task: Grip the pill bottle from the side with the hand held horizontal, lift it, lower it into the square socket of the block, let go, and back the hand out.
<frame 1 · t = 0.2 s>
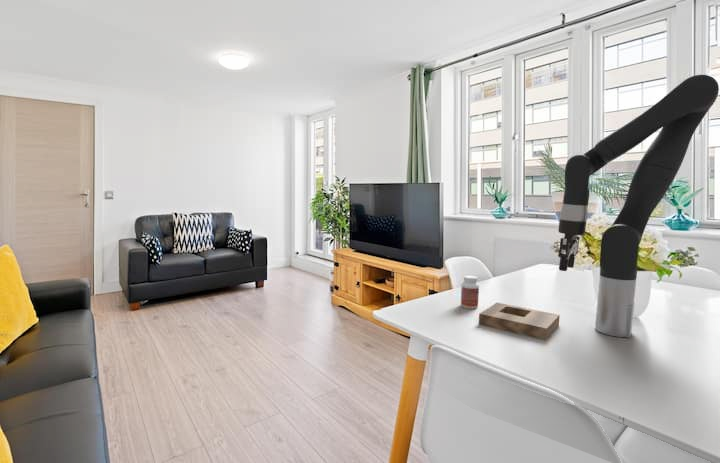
hand: (566, 268, 126), 18 cm above the table, tool pointing down, fingers open, 8 cm apart
socket block: (518, 324, 124), on the table
pill bottle: (469, 306, 143), on the table
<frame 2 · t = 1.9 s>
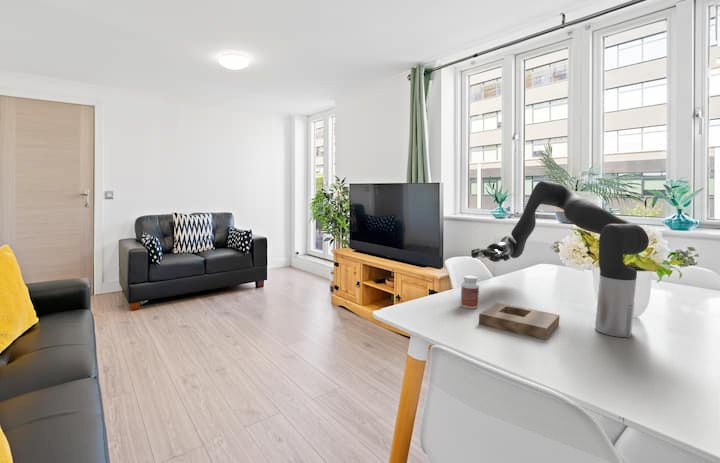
hand: (483, 256, 150), 17 cm above the table, tool horizontal, fingers open, 8 cm apart
nothing on the table moved.
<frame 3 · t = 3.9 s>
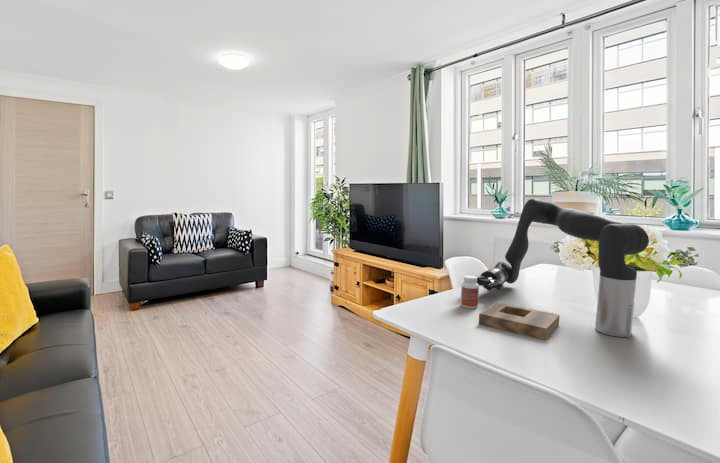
hand: (476, 285, 147), 7 cm above the table, tool horizontal, fingers open, 8 cm apart
nothing on the table moved.
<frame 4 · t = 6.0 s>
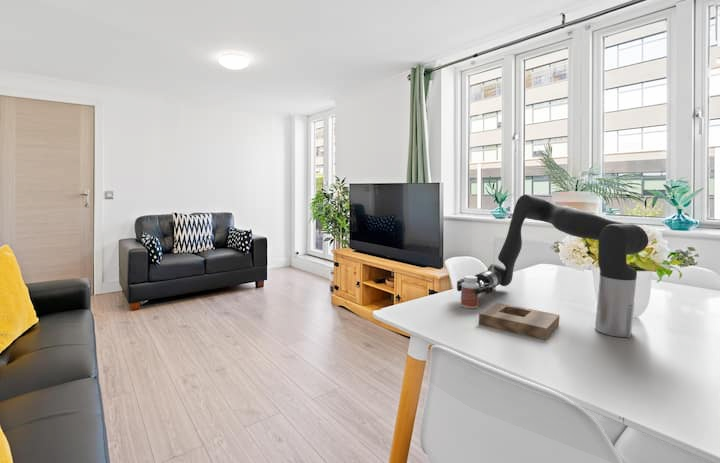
hand: (467, 290, 140), 7 cm above the table, tool horizontal, fingers closed on pill bottle, 6 cm apart
pill bottle: (469, 306, 143), on the table, touching gripper
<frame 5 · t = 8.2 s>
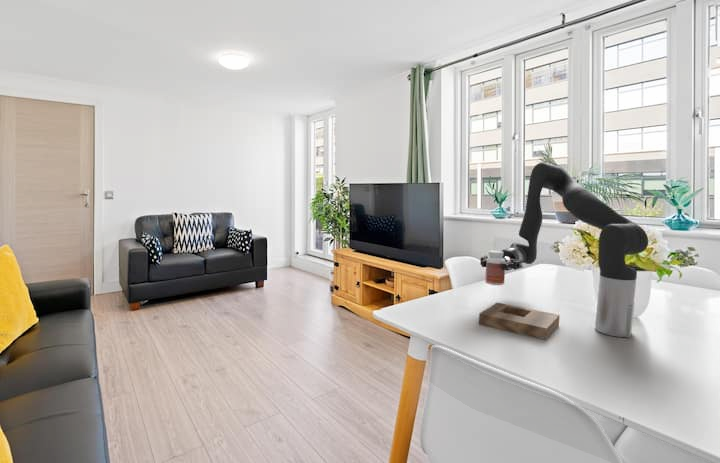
hand: (493, 265, 130), 18 cm above the table, tool horizontal, fingers closed on pill bottle, 6 cm apart
pill bottle: (494, 284, 133), point 11 cm above the table, touching gripper
when the fingers open (9 cm above the table, at t = 10.9 s): pill bottle drops 3 cm, resting in socket block.
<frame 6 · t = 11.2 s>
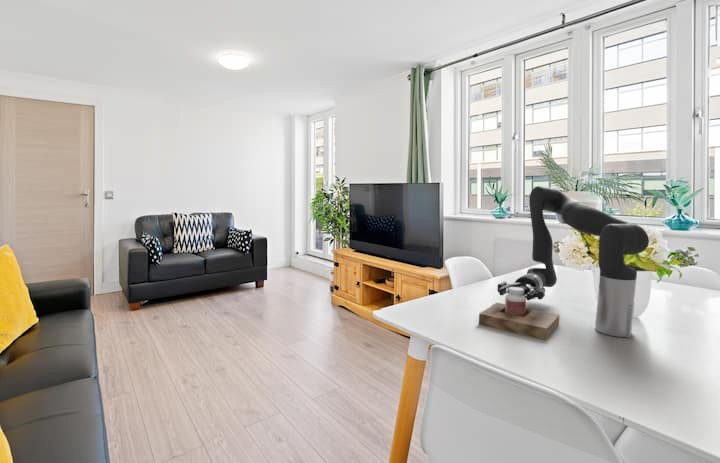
hand: (514, 294, 124), 10 cm above the table, tool horizontal, fingers open, 8 cm apart
pill bottle: (514, 322, 127), resting in socket block
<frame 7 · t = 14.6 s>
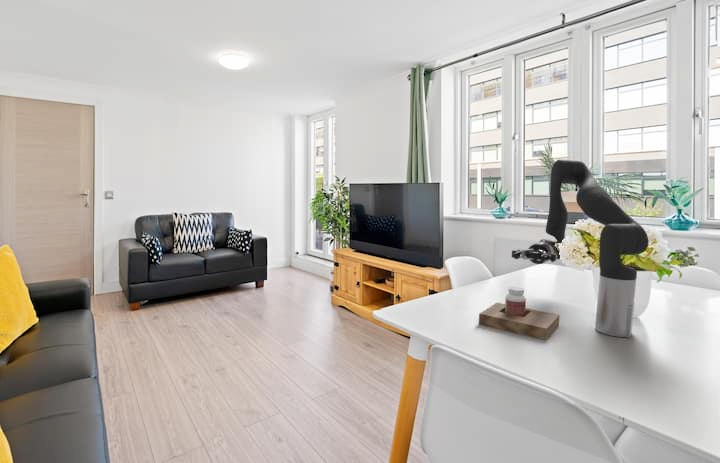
hand: (528, 257, 133), 20 cm above the table, tool horizontal, fingers open, 8 cm apart
nothing on the table moved.
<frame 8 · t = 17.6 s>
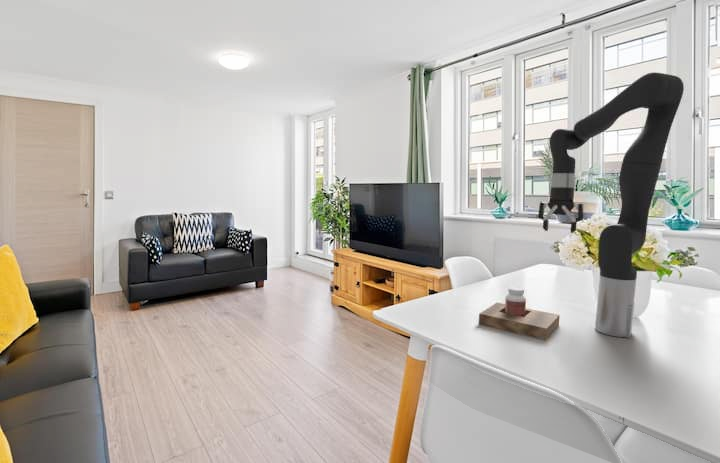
hand: (559, 231, 140), 28 cm above the table, tool pointing down, fingers open, 8 cm apart
nothing on the table moved.
at the end: pill bottle 0.2 cm from the target spot on the socket block, point 0.0 cm above the socket block's base; pill bottle tilted 0°; the gripper is holding nothing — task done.
